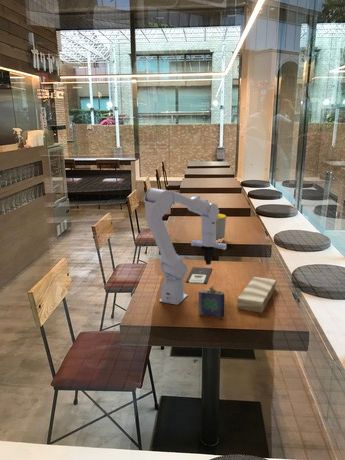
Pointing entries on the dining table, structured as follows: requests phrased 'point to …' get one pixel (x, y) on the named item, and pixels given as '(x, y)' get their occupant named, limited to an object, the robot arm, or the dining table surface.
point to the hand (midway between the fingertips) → (208, 264)
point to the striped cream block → (256, 294)
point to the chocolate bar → (199, 275)
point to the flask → (211, 303)
